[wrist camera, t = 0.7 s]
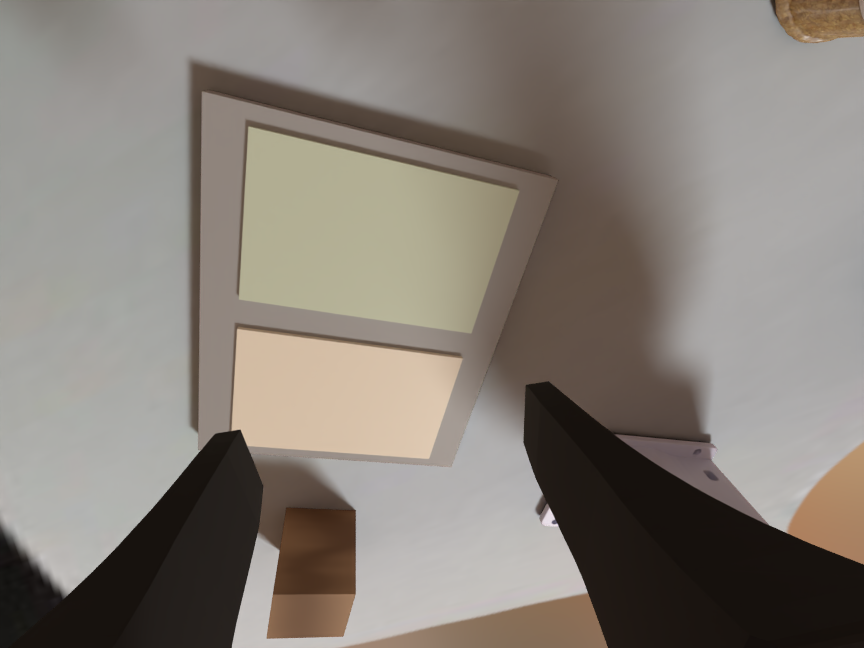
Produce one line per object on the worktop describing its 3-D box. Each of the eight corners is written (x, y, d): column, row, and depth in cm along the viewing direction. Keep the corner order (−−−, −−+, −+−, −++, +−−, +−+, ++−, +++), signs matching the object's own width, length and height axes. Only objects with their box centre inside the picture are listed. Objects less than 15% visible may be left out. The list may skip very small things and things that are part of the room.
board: (551, 175, 18) (560, 181, 18) (448, 456, 26) (451, 469, 25) (208, 89, 15) (200, 91, 14) (202, 438, 23) (196, 453, 22)
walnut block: (355, 510, 27) (355, 594, 23) (345, 551, 29) (343, 636, 25) (286, 507, 26) (272, 594, 22) (280, 550, 28) (266, 638, 24)
